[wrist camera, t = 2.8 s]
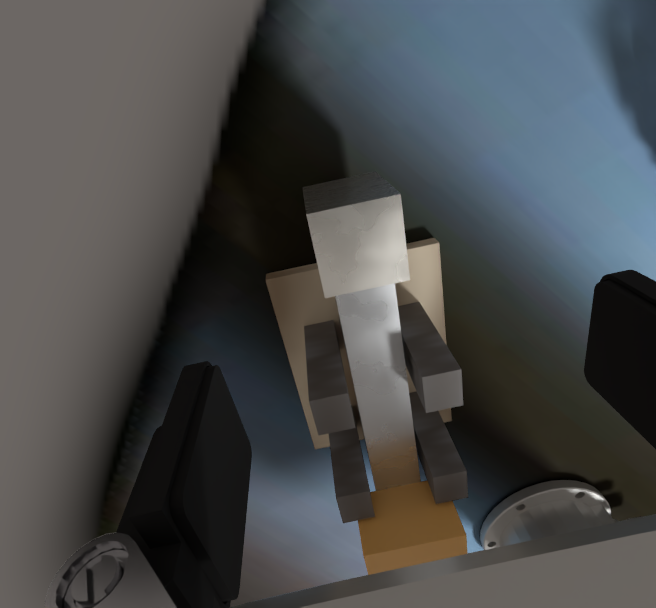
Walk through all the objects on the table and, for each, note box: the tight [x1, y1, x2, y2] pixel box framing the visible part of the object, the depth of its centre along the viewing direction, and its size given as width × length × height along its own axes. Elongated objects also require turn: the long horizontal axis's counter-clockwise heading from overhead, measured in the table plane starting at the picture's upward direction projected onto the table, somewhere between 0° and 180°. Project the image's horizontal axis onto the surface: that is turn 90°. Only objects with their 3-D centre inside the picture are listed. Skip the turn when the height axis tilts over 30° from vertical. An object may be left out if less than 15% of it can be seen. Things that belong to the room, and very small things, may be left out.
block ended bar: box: [302, 171, 421, 491], centre depth 25 cm, size 4×24×6 cm, turn 11°
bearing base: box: [266, 238, 468, 523], centre depth 26 cm, size 11×15×8 cm
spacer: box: [358, 481, 467, 575], centre depth 26 cm, size 6×4×4 cm
